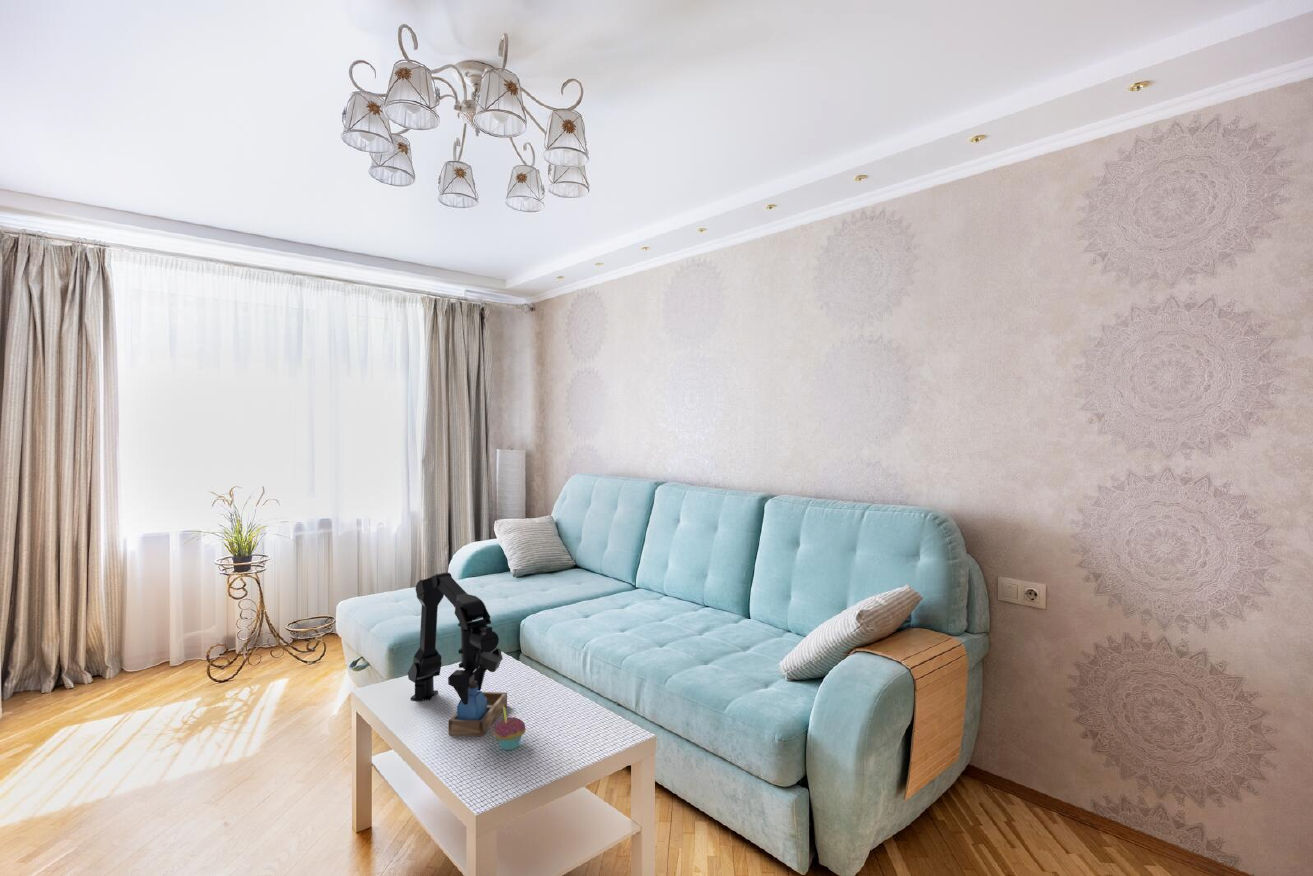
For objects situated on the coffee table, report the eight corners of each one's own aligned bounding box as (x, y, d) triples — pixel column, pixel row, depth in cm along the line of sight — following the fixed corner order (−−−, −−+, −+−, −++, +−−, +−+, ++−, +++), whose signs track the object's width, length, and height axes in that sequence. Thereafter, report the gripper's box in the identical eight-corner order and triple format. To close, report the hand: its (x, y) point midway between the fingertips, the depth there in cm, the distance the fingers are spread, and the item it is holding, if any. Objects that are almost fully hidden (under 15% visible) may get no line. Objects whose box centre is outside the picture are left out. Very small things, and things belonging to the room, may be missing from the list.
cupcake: (509, 757, 161) (508, 711, 161) (486, 748, 165) (485, 704, 165) (532, 742, 168) (531, 699, 168) (510, 735, 173) (509, 692, 172)
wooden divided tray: (476, 704, 192) (476, 691, 192) (507, 705, 191) (506, 692, 191) (448, 734, 173) (448, 720, 173) (482, 736, 172) (482, 722, 172)
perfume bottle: (477, 729, 174) (476, 687, 174) (457, 727, 175) (456, 686, 175) (487, 719, 180) (486, 678, 180) (467, 717, 181) (466, 677, 181)
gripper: (485, 656, 167) (486, 713, 167) (509, 633, 186) (510, 685, 186) (446, 655, 168) (447, 711, 168) (474, 633, 187) (475, 683, 187)
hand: (472, 697), depth 177 cm, fingers open, 9 cm apart
